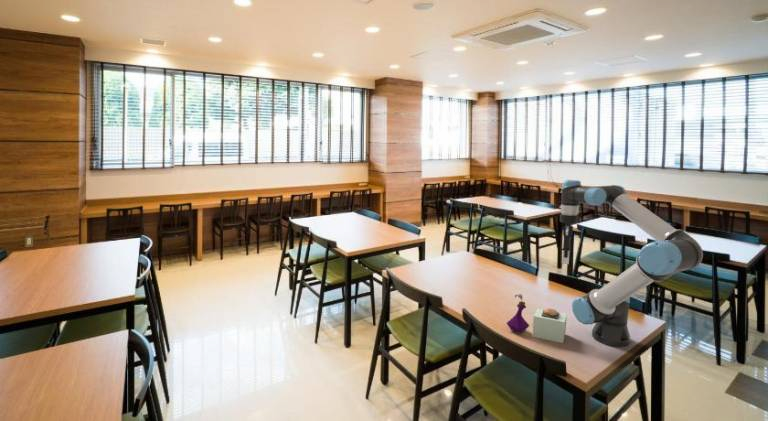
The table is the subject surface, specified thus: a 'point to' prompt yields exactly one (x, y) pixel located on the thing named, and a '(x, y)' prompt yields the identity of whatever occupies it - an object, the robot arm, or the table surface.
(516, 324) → the perfume bottle
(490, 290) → the table surface
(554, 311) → the peg
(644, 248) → the robot arm
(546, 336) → the socket block
